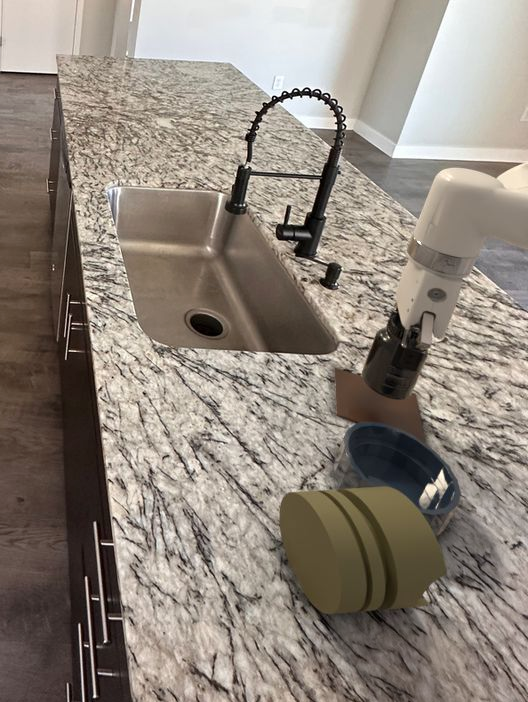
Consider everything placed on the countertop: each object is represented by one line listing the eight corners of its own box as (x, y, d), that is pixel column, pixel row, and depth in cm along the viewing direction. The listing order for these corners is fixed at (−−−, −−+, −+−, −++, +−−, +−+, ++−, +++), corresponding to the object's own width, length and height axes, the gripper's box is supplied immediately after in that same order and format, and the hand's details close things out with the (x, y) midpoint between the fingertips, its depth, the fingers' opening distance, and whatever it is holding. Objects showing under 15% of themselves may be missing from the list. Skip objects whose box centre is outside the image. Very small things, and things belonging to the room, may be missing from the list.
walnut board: (414, 396, 90) (415, 394, 89) (425, 449, 81) (426, 446, 80) (333, 369, 95) (334, 367, 94) (335, 416, 86) (336, 413, 85)
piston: (425, 627, 60) (462, 567, 55) (323, 636, 59) (353, 575, 54) (358, 523, 70) (385, 465, 66) (271, 529, 69) (292, 470, 65)
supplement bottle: (418, 389, 85) (445, 330, 80) (398, 408, 81) (426, 348, 76) (372, 361, 90) (395, 304, 85) (352, 378, 86) (374, 320, 81)
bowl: (435, 472, 77) (448, 446, 75) (455, 561, 66) (471, 533, 64) (332, 434, 83) (341, 408, 80) (334, 510, 72) (346, 483, 70)
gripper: (490, 297, 67) (439, 400, 74) (459, 232, 81) (419, 324, 88) (418, 279, 70) (376, 380, 77) (400, 219, 84) (366, 309, 91)
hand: (399, 349), depth 83 cm, fingers closed on supplement bottle, 6 cm apart
